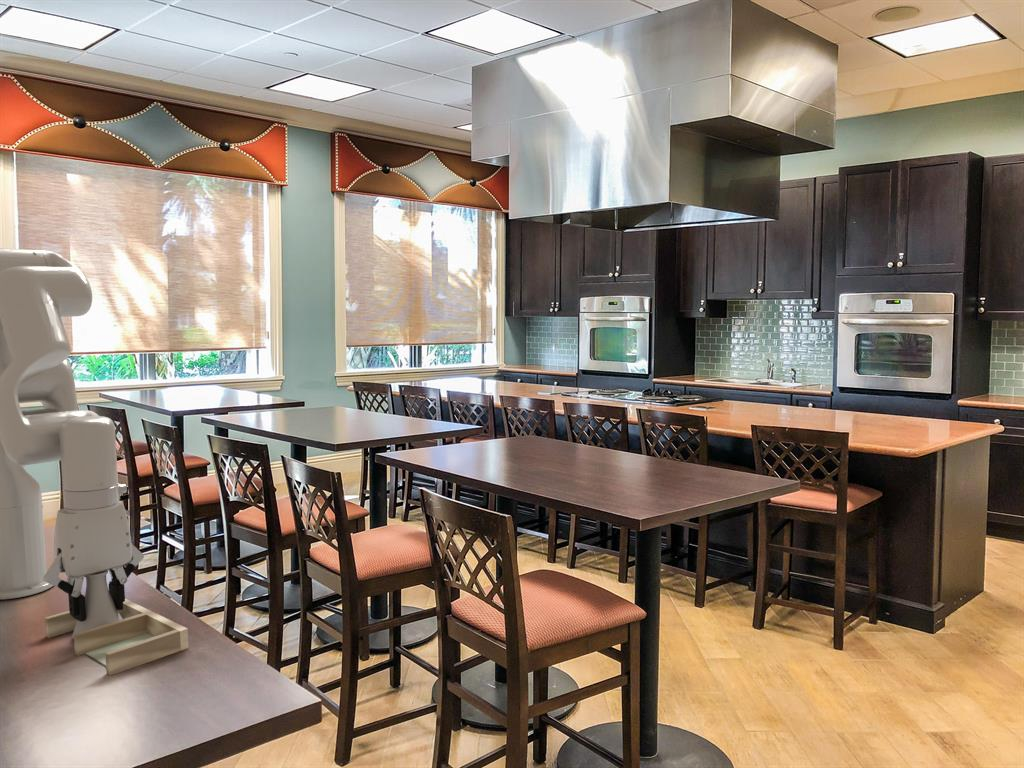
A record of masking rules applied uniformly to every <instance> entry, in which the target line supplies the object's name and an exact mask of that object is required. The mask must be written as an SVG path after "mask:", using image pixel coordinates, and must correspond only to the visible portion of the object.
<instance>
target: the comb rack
mask: <svg viewBox="0 0 1024 768" xmlns="http://www.w3.org/2000/svg"><path fill="white" fill-rule="evenodd" d="M118 612H119V614H120V615H121V617H122V620H119V621H115V622H112V623H109V624H106V625H102V626H99V627H96V628H92V629H89V630H86V631H83V632H79V633H76V634H73V633H72V635H74V639H73V646H74V647H73V648H74V655H75V656H78V657H79V656H81V655H87V656H88V657H90V658H92V660H95V661H96V662H98V663H99V664H102V665H103V666H104V667H106V668H105V669H106V675H108V676H110V677H111V676H113V675H116V674H119V673H122V672H124V671H128V670H131V669H133V668H136V667H138V666H139V667H140V666H142V665H144V664H147V663H150V662H153V661H155V660H158V659H161V658H165V657H166V656H169V655H172V654H173V655H174V654H175V653H179V652H182V651H185V650H187V649H189V647H190V646H189V628H187V627H185V626H183V625H181V624H179V623H177V622H175V621H173V620H172V619H171V620H170V619H169V618H166V617H165V616H163V615H160V614H159V613H156V612H154V611H152V610H150V609H149V608H146V607H144V606H141V605H139V604H138V603H135V602H133V601H132V600H129V599H127V598H125V601H124V602H123V610H118ZM76 623H77V619H75V618H73V616H71V615H70V612H69V610H67V611H64V612H63V611H62V612H59V613H56V614H53V615H49V616H45V617H44V627H45V637H46V638H48V639H51V638H53V637H57V636H60V635H63V634H68V633H70V632H74V629H75V626H76Z"/></svg>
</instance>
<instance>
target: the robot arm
mask: <svg viewBox="0 0 1024 768" xmlns="http://www.w3.org/2000/svg"><path fill="white" fill-rule="evenodd" d="M92 303H93V292H92V287H91V284H90V281H89V280H88V278H87V276H86V275H85V274H84V272H83V271H82V270H81V269H80V268H79V267H78V266H77V265H75V264H74V263H72V262H71V261H69V260H68V259H66V258H65V257H64V256H61V255H60V254H59V253H57V252H54V251H51V250H44V249H43V250H42V249H28V248H27V249H22V248H21V249H19V248H4V247H3V248H1V247H0V600H10V599H18V598H22V597H29V596H32V595H35V594H39V593H41V592H44V591H46V590H48V589H50V588H52V587H56V588H58V589H59V590H61V591H62V592H64V593H66V594H68V608H69V610H68V611H69V612H70V615H71V616H73V618H75V619H77V620H78V621H80V622H82V621H85V620H86V609H85V594H82V589H83V584H84V581H85V577H84V576H86V575H90V574H94V573H98V572H102V571H105V570H108V572H109V575H110V578H111V580H110V581H108V582H109V583H108V590H109V593H110V595H111V597H112V600H113V602H114V604H115V606H116V608H117V610H123V602H124V601H125V599H126V595H125V593H126V591H125V584H127V582H128V578H129V577H130V575H131V574H132V573H133V571H135V568H136V567H137V566H138V565H139V564H140V563H141V562H142V560H143V559H144V557H145V555H144V553H142V552H141V551H140V550H139V548H137V547H136V546H135V545H134V544H133V543H132V538H131V529H130V524H129V519H128V515H127V511H126V508H125V505H124V502H123V501H120V500H121V495H122V494H126V493H127V491H128V487H127V485H126V484H120V483H119V478H118V476H119V475H118V459H117V458H118V456H117V442H116V441H117V438H116V426H115V423H114V421H113V420H112V418H110V417H107V416H103V415H102V416H101V415H99V414H97V413H96V412H95V411H92V410H89V409H88V410H87V409H82V410H81V409H79V407H78V406H79V404H78V399H77V390H76V383H75V377H74V372H73V367H72V366H71V364H70V362H69V360H68V358H69V356H70V354H71V350H72V349H71V345H70V341H69V339H68V335H67V332H66V329H65V326H64V323H63V320H62V318H65V317H67V318H69V317H70V318H71V317H81V316H84V315H86V314H87V313H89V311H90V310H91V307H92ZM38 402H40V403H41V404H42V406H43V408H39V409H29V410H24V409H23V410H22V409H21V405H20V404H25V403H27V404H28V403H38ZM59 461H60V466H61V469H60V470H61V481H62V483H61V484H62V485H61V486H62V497H63V498H62V499H63V508H60V509H58V511H57V513H56V519H55V527H54V538H53V539H54V540H53V561H52V563H51V565H50V567H49V568H48V569H47V557H46V542H45V527H44V526H45V525H44V524H45V522H44V512H43V511H44V509H43V507H44V506H43V497H42V495H43V494H42V489H41V486H40V483H39V482H38V481H37V480H36V478H34V477H33V476H32V475H31V474H30V473H29V472H27V471H26V469H25V466H30V465H38V464H44V463H46V464H47V463H52V462H59ZM60 573H65V575H66V580H63V579H62V578H60V577H59V575H60Z"/></svg>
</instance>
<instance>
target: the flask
mask: <svg viewBox="0 0 1024 768" xmlns="http://www.w3.org/2000/svg"><path fill="white" fill-rule="evenodd" d="M108 572H109V570H105V571H102V572H98V573H94V574H90V575H86V576H84V578H85V582H86V583H85V584H86V586H85V587H86V588H85V593H84V596H85V609H86V620H85V621H82V622H80V621H78V620H77V623H76V626H75V629H74V631H72V632H73V633H72V635H71V639H73V640H74V635H73V634H76V633H79V632H83V631H86V630H89V629H92V628H96V627H99V626H102V625H106V624H109V623H112V622H115V621H119V620H122V617H121V615H120V614H119V612H118V610H117V608H116V606H115V604H114V602H113V600H112V597H111V595H110V593H109V585H108V583H107V582H108V581H107V574H108Z"/></svg>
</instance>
